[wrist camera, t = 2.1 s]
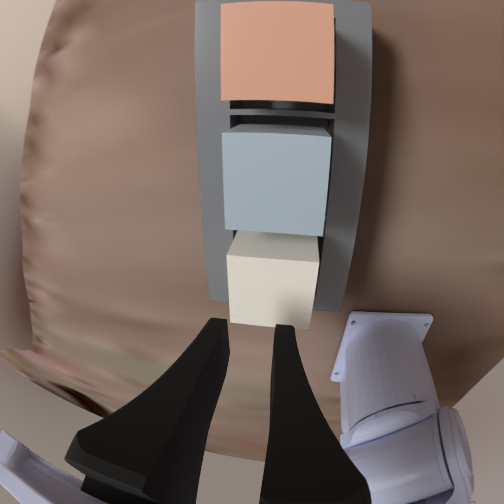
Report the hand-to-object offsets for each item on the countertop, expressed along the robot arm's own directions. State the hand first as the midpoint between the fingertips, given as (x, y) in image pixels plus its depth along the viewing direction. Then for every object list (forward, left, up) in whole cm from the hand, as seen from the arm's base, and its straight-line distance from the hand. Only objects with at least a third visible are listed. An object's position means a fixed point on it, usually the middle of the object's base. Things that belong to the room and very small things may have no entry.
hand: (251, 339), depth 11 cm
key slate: (+5, 0, -7) cm, 9 cm away
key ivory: (0, 0, -7) cm, 7 cm away
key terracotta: (+11, 0, -7) cm, 13 cm away
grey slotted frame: (+5, 0, -10) cm, 12 cm away
